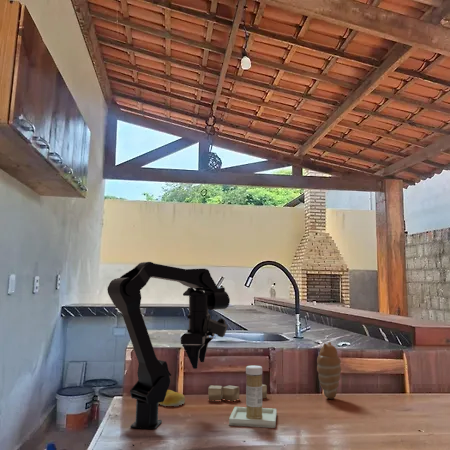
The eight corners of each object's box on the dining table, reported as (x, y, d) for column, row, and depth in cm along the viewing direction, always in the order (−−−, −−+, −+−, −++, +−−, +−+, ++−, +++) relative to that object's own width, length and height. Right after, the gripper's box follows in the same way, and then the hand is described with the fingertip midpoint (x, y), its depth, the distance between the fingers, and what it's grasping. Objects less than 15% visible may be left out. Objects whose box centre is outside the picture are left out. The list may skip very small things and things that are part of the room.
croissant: (323, 394, 140) (321, 340, 143) (345, 397, 136) (343, 342, 139) (313, 399, 133) (312, 342, 136) (336, 403, 128) (334, 344, 132)
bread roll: (171, 409, 121) (172, 395, 121) (151, 404, 126) (152, 390, 127) (190, 403, 127) (191, 390, 128) (170, 399, 133) (171, 386, 133)
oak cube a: (220, 401, 129) (220, 388, 130) (208, 401, 130) (208, 388, 130) (222, 398, 133) (222, 385, 134) (210, 398, 134) (210, 385, 134)
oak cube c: (266, 398, 135) (266, 385, 135) (257, 399, 133) (257, 386, 133) (259, 395, 138) (259, 383, 139) (249, 397, 136) (249, 384, 137)
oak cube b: (232, 402, 129) (232, 389, 130) (222, 400, 131) (222, 387, 132) (239, 399, 132) (239, 386, 133) (229, 398, 134) (229, 385, 135)
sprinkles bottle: (255, 414, 113) (255, 364, 115) (266, 418, 109) (265, 366, 112) (242, 417, 110) (242, 365, 113) (252, 421, 107) (252, 368, 109)
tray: (275, 427, 104) (275, 421, 104) (229, 425, 105) (229, 418, 106) (276, 414, 115) (276, 408, 116) (234, 412, 117) (234, 406, 117)
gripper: (219, 313, 110) (220, 373, 108) (230, 308, 129) (230, 359, 127) (180, 313, 112) (180, 372, 110) (195, 308, 130) (196, 359, 128)
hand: (198, 365), depth 119 cm, fingers open, 9 cm apart
